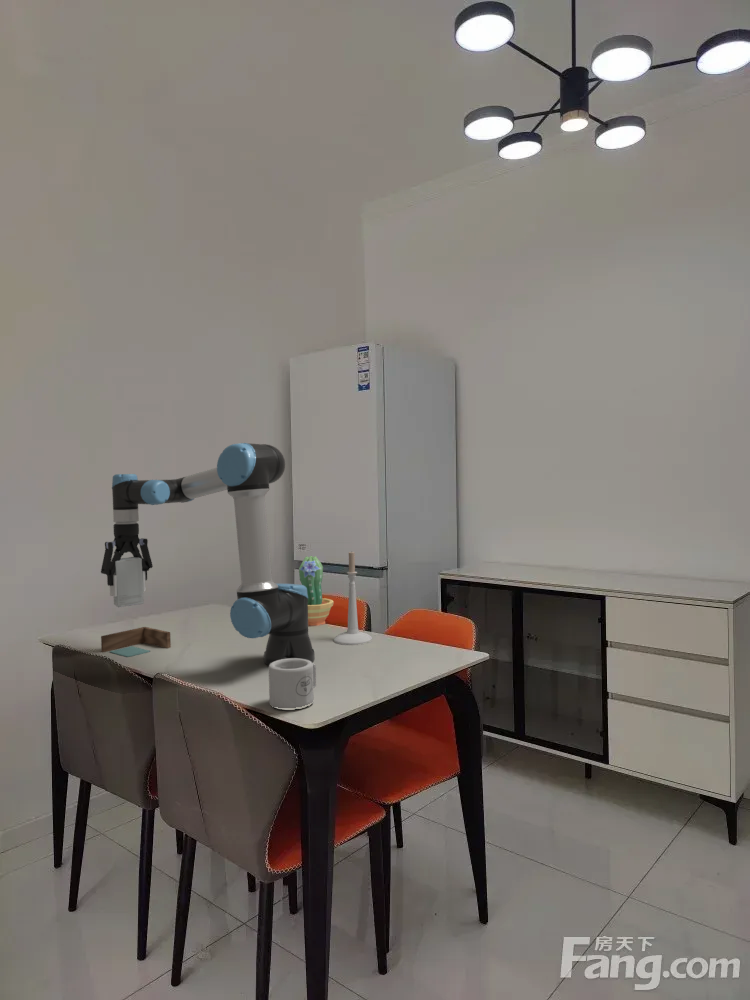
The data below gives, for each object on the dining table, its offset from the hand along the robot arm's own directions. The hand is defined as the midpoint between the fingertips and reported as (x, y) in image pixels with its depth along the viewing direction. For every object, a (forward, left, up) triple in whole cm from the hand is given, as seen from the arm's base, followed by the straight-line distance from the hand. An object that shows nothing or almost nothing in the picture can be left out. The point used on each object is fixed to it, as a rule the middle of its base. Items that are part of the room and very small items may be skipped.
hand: (128, 593), depth 219 cm
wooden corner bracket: (+1, -3, -19) cm, 19 cm away
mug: (-77, +4, -19) cm, 79 cm away
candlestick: (-49, -52, -19) cm, 74 cm away
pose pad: (0, 0, -19) cm, 19 cm away
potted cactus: (-20, -64, -19) cm, 70 cm away
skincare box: (0, 0, -4) cm, 4 cm away
